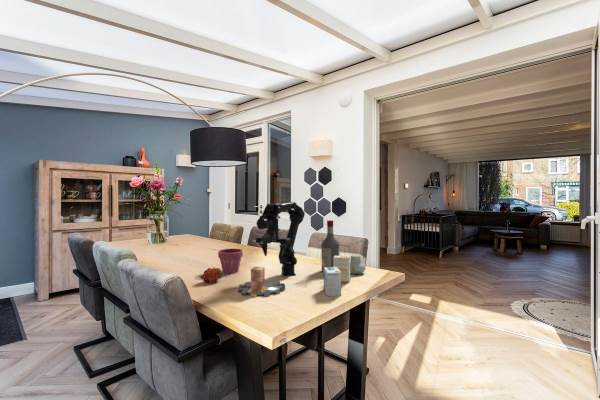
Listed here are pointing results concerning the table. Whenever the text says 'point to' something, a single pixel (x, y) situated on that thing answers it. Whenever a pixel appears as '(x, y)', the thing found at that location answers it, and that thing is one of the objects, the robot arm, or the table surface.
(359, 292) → the table surface
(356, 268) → the air freshener
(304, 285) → the table surface
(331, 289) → the light bulb box
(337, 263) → the supplement box
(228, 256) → the plant pot
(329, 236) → the liquor
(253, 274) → the link block
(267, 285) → the timing wheel
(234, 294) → the table surface
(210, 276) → the dragon fruit
